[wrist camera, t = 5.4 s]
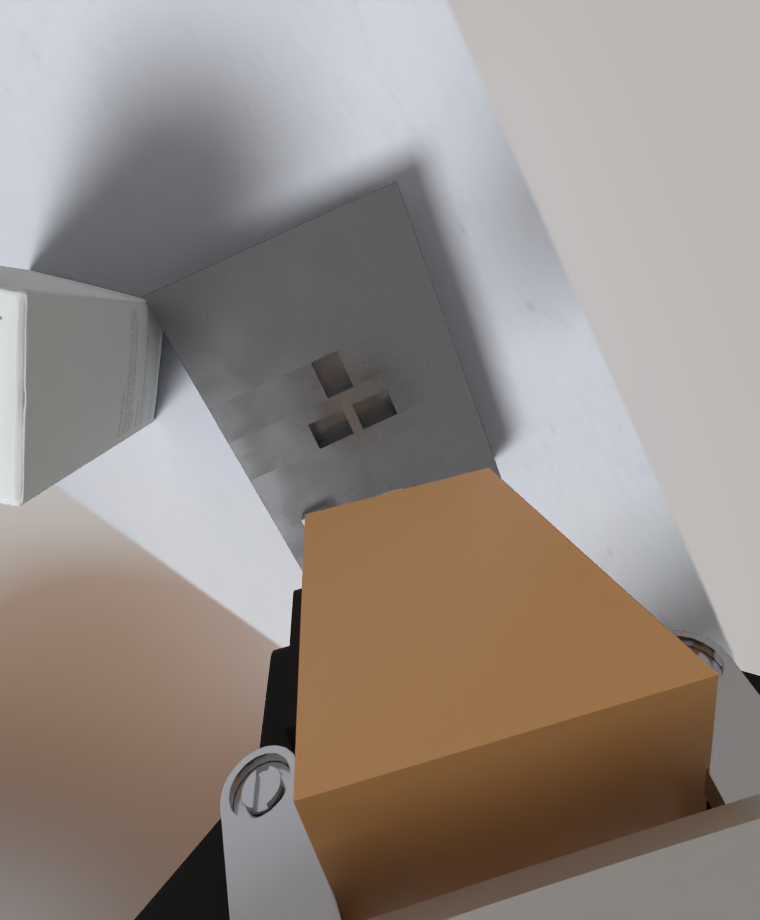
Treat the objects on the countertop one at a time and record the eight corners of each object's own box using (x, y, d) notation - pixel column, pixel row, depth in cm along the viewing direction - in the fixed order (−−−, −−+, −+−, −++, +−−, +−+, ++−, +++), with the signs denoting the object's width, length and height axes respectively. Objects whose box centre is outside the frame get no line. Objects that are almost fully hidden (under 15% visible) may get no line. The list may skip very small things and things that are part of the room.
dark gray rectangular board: (485, 467, 31) (507, 487, 27) (304, 549, 31) (303, 579, 27) (387, 197, 25) (399, 176, 21) (163, 299, 25) (136, 295, 21)
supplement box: (25, 266, 23) (-284, 208, 11) (170, 304, 25) (32, 288, 13) (20, 399, 25) (-248, 468, 13) (155, 427, 27) (23, 512, 15)
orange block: (495, 647, 16) (688, 1005, 8) (364, 684, 16) (420, 1098, 7) (466, 447, 13) (719, 675, 5) (306, 487, 13) (292, 800, 5)
